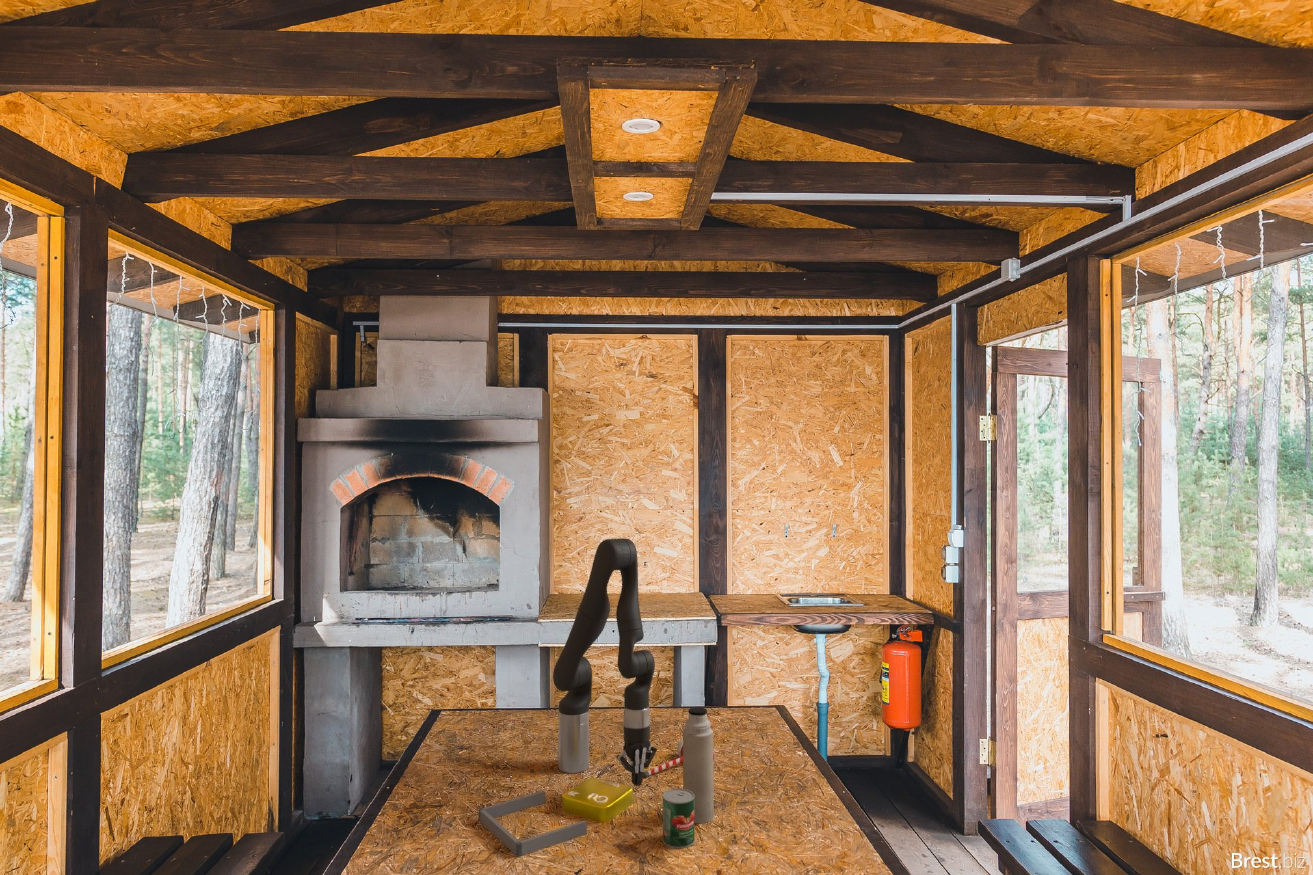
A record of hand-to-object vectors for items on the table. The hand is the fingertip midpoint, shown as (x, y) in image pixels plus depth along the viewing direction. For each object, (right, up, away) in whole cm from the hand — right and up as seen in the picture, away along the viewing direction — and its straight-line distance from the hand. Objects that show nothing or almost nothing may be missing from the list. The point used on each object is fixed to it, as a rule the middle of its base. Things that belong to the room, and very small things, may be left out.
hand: (637, 784), depth 216 cm
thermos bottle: (+17, -2, -14) cm, 22 cm away
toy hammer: (+13, -4, +19) cm, 23 cm away
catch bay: (-27, -2, -20) cm, 33 cm away
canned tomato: (+11, -2, -27) cm, 29 cm away
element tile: (-10, -3, -8) cm, 13 cm away
